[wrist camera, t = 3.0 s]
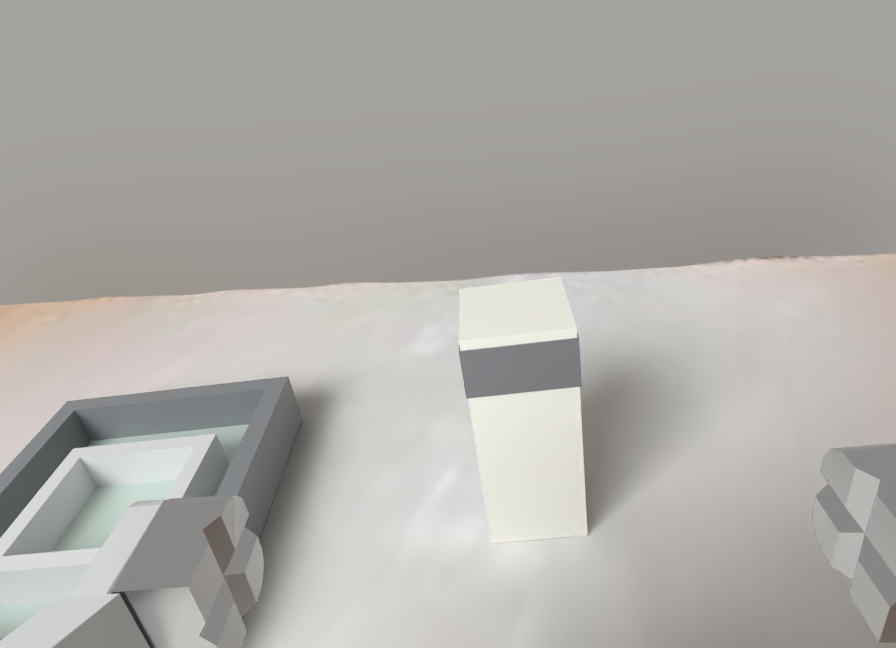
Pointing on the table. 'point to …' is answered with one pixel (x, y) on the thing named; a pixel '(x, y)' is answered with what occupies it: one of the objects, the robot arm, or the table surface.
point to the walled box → (132, 476)
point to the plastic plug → (525, 407)
